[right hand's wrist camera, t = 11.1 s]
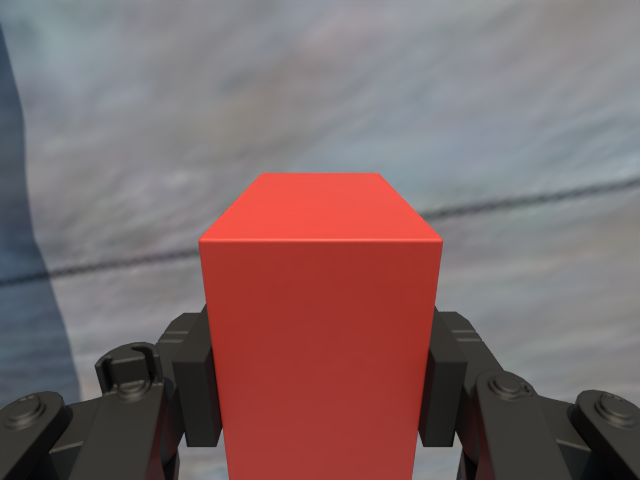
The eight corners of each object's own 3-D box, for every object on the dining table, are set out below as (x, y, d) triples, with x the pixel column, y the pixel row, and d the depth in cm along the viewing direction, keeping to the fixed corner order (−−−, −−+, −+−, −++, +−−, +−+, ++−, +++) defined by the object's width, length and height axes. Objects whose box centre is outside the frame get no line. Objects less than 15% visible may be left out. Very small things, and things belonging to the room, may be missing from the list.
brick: (379, 172, 16) (444, 239, 7) (370, 325, 18) (410, 495, 10) (261, 172, 16) (196, 239, 7) (270, 325, 18) (230, 495, 10)
